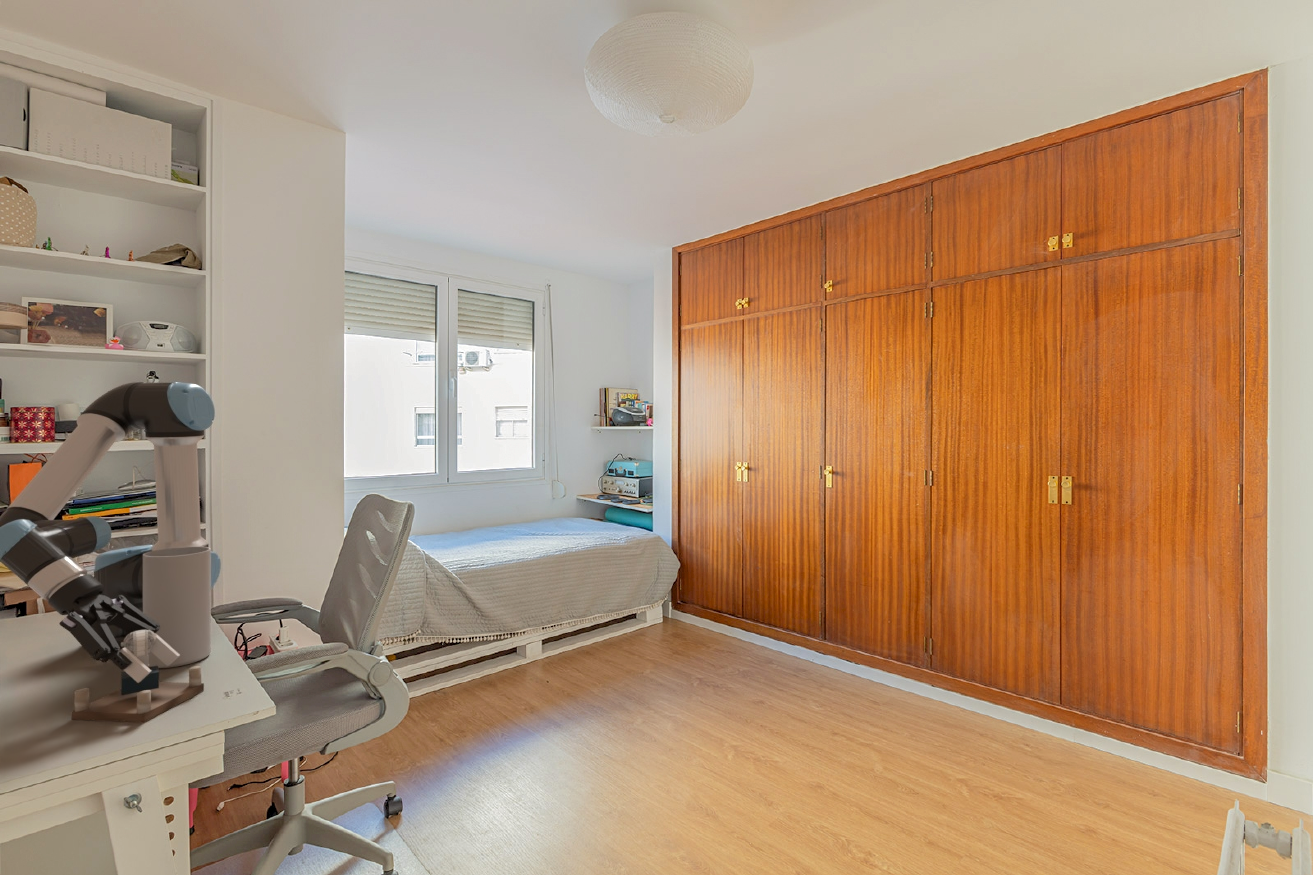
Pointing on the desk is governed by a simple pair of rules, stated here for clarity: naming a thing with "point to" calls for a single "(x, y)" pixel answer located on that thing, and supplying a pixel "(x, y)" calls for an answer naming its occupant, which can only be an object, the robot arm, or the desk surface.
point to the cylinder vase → (179, 601)
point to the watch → (140, 647)
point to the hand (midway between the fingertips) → (159, 668)
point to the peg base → (130, 703)
